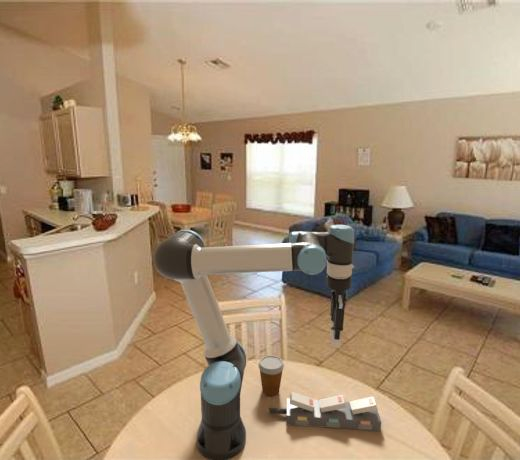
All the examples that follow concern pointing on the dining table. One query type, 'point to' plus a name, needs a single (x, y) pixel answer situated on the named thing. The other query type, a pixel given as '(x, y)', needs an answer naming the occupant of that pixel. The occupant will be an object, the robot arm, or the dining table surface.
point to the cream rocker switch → (363, 405)
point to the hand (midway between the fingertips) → (335, 343)
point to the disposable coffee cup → (271, 374)
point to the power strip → (330, 417)
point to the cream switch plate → (332, 403)
